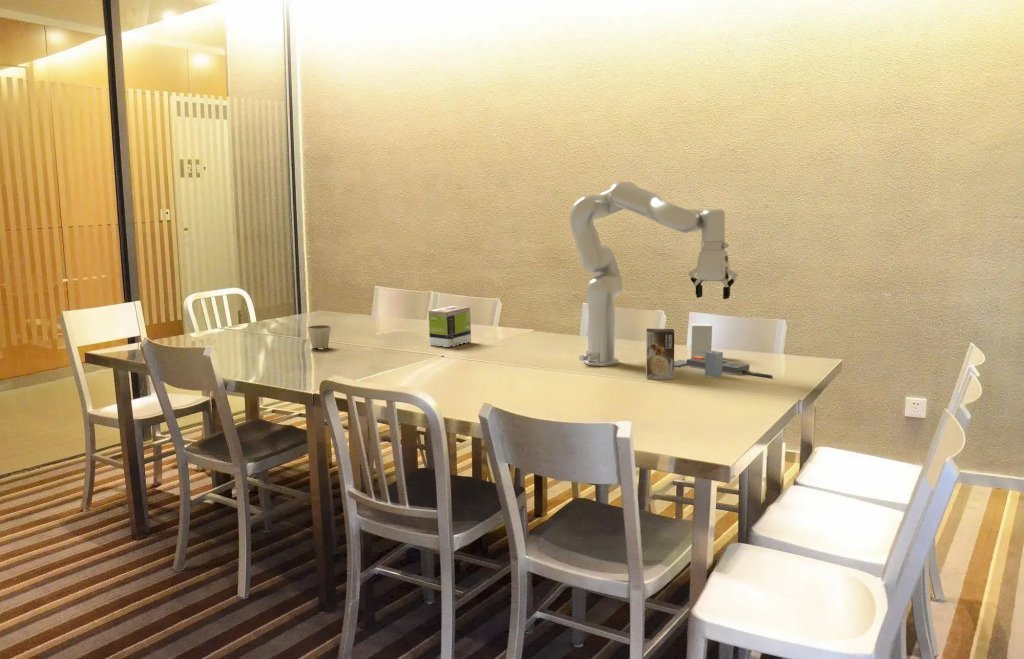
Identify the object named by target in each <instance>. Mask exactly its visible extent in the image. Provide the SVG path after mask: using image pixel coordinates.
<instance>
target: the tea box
mask: <svg viewBox="0 0 1024 659" xmlns="http://www.w3.org/2000/svg"><path fill="white" fill-rule="evenodd" d="M471 327H472V326H471V308H470V307H469V306H468V307H467V306H457V305H450V306H445V307H439V308H435V309H430V310H428V330H429V331H428V332H429V333H428V334H429V345H430V346H431V345H437V346H445V347H450V346H453V347H455V346H454V345H457V346H460V345H459V344H461V345H463V343H465V344H468V342H469V343H472V328H471ZM450 348H451V347H450Z"/></svg>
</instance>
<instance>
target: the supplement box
mask: <svg viewBox="0 0 1024 659" xmlns="http://www.w3.org/2000/svg"><path fill="white" fill-rule="evenodd" d="M690 333H691V334H690V359H691V358H692V356H701V357H706V352H709V351H712V342H713V341H712V338H713V337H712V336H713V324H712V323H711V322H692V323H691V330H690Z"/></svg>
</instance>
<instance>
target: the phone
mask: <svg viewBox="0 0 1024 659" xmlns="http://www.w3.org/2000/svg"><path fill="white" fill-rule="evenodd" d="M685 365H686V366H687V360H685V359H677V360H674V368H677V367H678V368H681V366H682V367H685Z"/></svg>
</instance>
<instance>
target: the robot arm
mask: <svg viewBox="0 0 1024 659" xmlns="http://www.w3.org/2000/svg"><path fill="white" fill-rule="evenodd" d="M622 210H627V211H629V212H632V213H635V214H638V215H640V216H642V217H645V218H647V219H649V220H651V221H653V222H656V223H658V224H660V225H662V226H665V227H667V228H670V229H672V230H675V231H678V232H680V233H685V234H688V233H691V232H697V231H701V236H700V237H701V241H700V242H701V250H700V251H699V253H698V257H697V263H696V264H697V266H696V268H695V269H694V268H693V270H691V271H689V272H688V273H687V274H688V276H689V278H690V281H691V282H692V283H693V285H694V286H695V295H696V298H697V299H698V298H699V299H700V298H702V297H703V282H721V283H722V284H723V285H724V286H723V288H722V299H724V300H729V299H730V296H731V287H732V286H733V284H734V283H735V282H736V280H737V278H738V276H739V273H737V272H735V271H734V270H732V269H730V259H729V254H728V250H726V249H727V248H729V244H728V243H726V241H725V236H726V234H725V233H726V231H725V230H726V214H725V211H724V210H723V209H719V208H718V209H717V208H716V209H713V208H711V209H696V208H690V209H687V208H683V207H680V206H679V205H675V204H672V203H670V202H668V201H667V200H665V199H663V198H662V197H661V196H660V195H659V194H657V193H655V192H652V191H649V190H648V189H647V190H646V189H644V188H641V187H639V186H638V185H636V184H635V183H634V182H631V181H618V182H615V183H614V184H611V187H610V188H609V189H608V190H605V191H603V192H601V193H599V194H588V195H584V196H581V197H580V198H579V199H578V200H576V201H575V203H574V204H573V205H572V207H571V209H570V213H569V225H570V229H571V232H572V235H573V239H574V242H575V246H576V250H577V253H578V256H579V260H580V263H581V266H582V268H583V270H584V271H585V272H589V273H593V275H594V277H593V278H591V279H590V281H588V283H587V286H586V292H585V293H586V294H585V295H586V302H587V350H586V352H585V354H581V355H579V356H578V358H579V361H582V362H583V363H584V364H585V365H588V366H595V367H596V366H597V367H606V366H607V367H608V366H609V367H610V366H616V365H618V364H619V361H620V360H619V359H618V358H616V357H615V345H616V344H615V340H616V339H615V338H616V337H615V336H616V335H615V331H616V330H615V328H616V323H615V322H616V310H615V303H614V299H615V298H617V297H618V296H619V295H620V294H621V293H622V291H623V286H624V285H623V279H622V276H621V273H620V270H619V266H618V262H617V259H616V256H615V254H614V252H613V250H612V249H611V248H610V247H609V246H607V245H606V244H602V242H601V240H600V236H599V232H598V230H597V228H596V226H595V224H594V220H595V219H596V220H597V219H603V218H606V217H609V216H611V215H612V214H616V213H618V212H620V211H622ZM695 275H696V276H695ZM730 276H731V278H730Z"/></svg>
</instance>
